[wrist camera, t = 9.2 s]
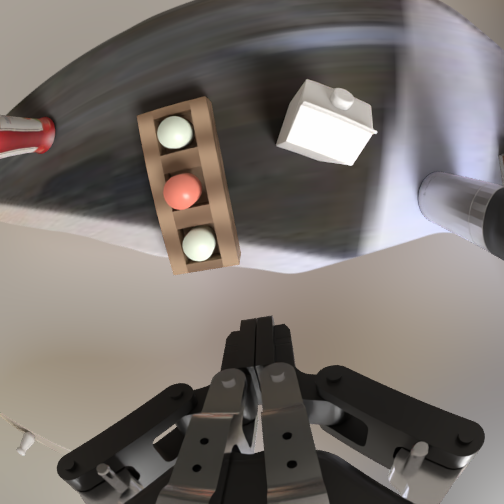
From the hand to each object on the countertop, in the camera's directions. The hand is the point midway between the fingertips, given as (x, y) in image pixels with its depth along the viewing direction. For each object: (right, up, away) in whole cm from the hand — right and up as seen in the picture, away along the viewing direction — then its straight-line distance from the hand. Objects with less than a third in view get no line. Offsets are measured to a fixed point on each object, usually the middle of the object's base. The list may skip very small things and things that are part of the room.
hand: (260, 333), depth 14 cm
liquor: (-38, +25, +26) cm, 52 cm away
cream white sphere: (-8, +6, +29) cm, 31 cm away
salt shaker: (-97, -75, +62) cm, 137 cm away
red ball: (-9, +12, +24) cm, 29 cm away
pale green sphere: (-11, +21, +24) cm, 34 cm away
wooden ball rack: (-9, +14, +29) cm, 34 cm away
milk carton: (+7, +22, +26) cm, 35 cm away
